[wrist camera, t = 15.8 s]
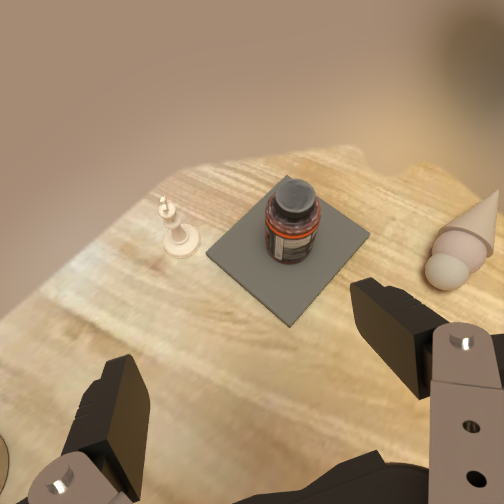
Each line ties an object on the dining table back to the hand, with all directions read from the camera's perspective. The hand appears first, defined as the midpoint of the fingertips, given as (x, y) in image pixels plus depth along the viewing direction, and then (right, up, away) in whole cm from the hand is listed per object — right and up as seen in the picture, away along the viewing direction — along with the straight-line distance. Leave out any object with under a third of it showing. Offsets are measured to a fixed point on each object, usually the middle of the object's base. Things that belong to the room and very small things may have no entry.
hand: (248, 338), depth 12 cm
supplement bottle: (+5, +4, +32) cm, 33 cm away
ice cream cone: (+26, +4, +32) cm, 42 cm away
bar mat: (+5, +4, +33) cm, 34 cm away
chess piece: (-9, +4, +34) cm, 36 cm away
